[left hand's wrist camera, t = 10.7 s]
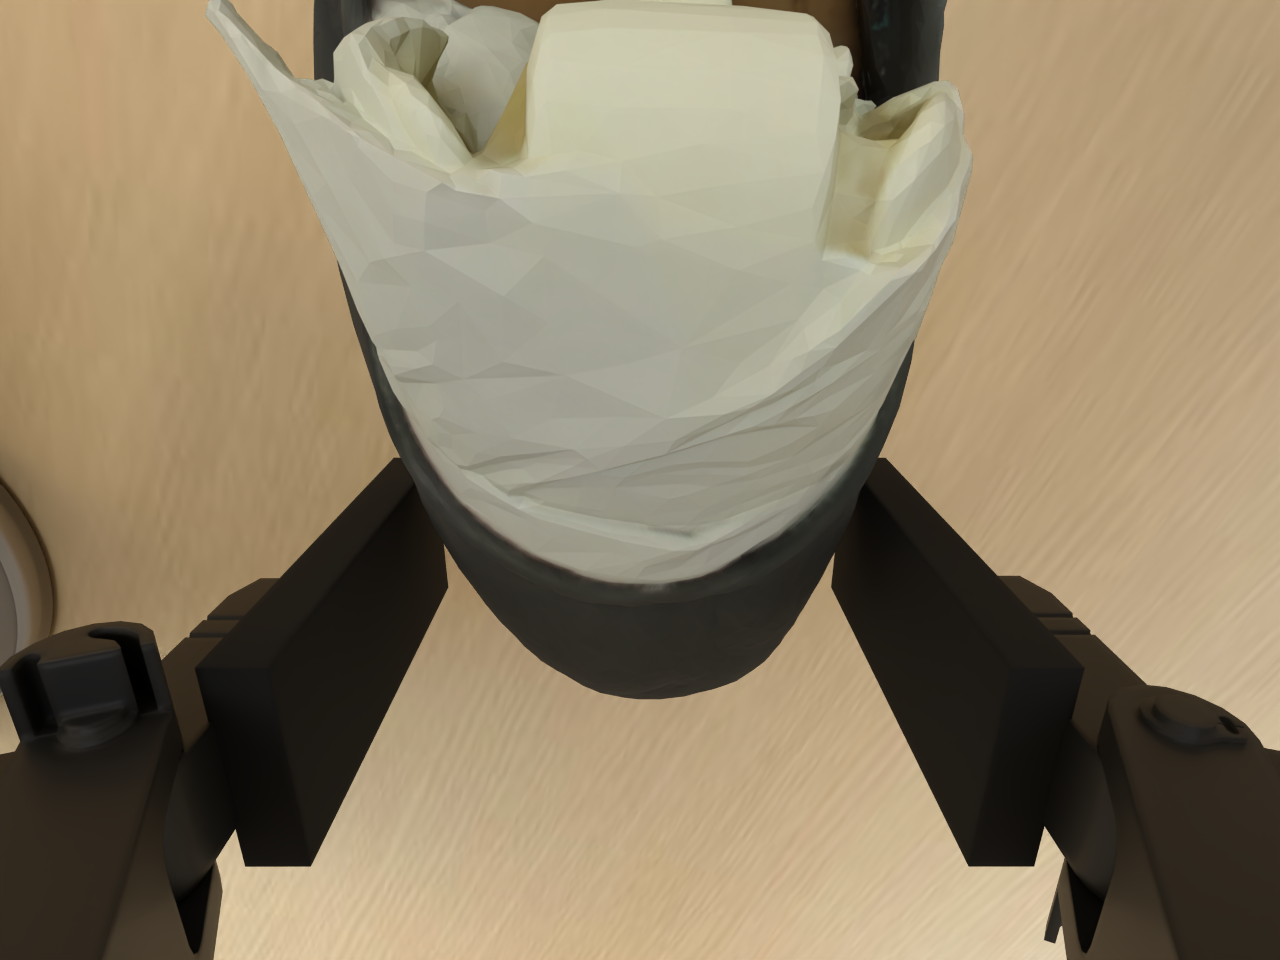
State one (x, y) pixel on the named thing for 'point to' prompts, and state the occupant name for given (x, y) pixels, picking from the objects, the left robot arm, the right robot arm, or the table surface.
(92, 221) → the table surface
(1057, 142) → the table surface
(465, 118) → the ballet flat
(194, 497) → the table surface
